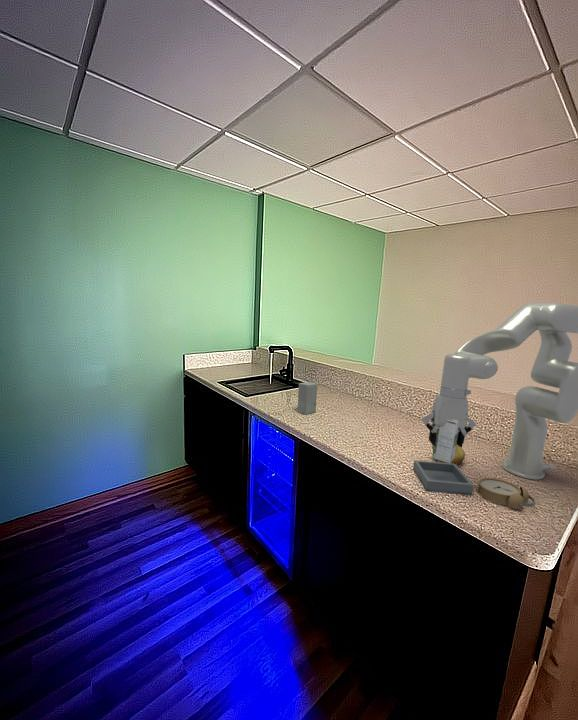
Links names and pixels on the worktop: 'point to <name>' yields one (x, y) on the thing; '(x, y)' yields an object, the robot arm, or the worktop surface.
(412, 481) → the worktop surface
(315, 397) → the skincare box
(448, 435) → the syrup box
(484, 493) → the alarm clock
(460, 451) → the bread roll
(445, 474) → the tray
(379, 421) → the worktop surface
